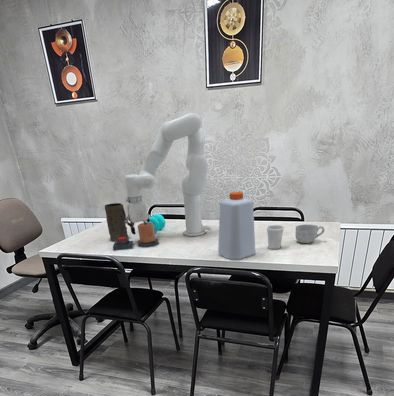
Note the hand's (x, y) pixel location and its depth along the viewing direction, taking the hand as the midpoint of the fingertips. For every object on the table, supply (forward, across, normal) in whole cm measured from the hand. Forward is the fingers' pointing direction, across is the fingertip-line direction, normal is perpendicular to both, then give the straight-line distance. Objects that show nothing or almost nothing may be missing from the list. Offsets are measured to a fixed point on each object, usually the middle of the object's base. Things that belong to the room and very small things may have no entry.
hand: (140, 232), depth 194 cm
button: (+1, -13, -3) cm, 13 cm away
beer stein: (+5, -6, +16) cm, 18 cm away
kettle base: (+5, 0, -8) cm, 10 cm away
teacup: (+5, +61, -68) cm, 92 cm away
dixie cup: (+5, +43, -62) cm, 76 cm away
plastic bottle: (+5, +23, -57) cm, 61 cm away
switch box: (+5, -13, -3) cm, 14 cm away
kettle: (+3, 0, -8) cm, 8 cm away
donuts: (+5, +16, +12) cm, 21 cm away
